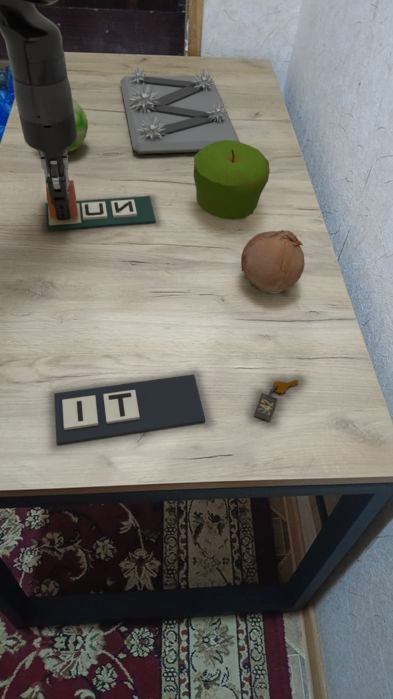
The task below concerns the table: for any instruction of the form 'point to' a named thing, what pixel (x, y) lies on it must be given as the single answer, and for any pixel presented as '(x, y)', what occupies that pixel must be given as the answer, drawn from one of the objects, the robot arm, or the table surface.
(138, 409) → the near word mat
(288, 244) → the onion
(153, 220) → the far word mat
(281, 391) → the key tag
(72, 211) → the red striped block
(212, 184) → the apple
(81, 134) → the decorative ball
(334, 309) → the table surface
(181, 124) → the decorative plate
